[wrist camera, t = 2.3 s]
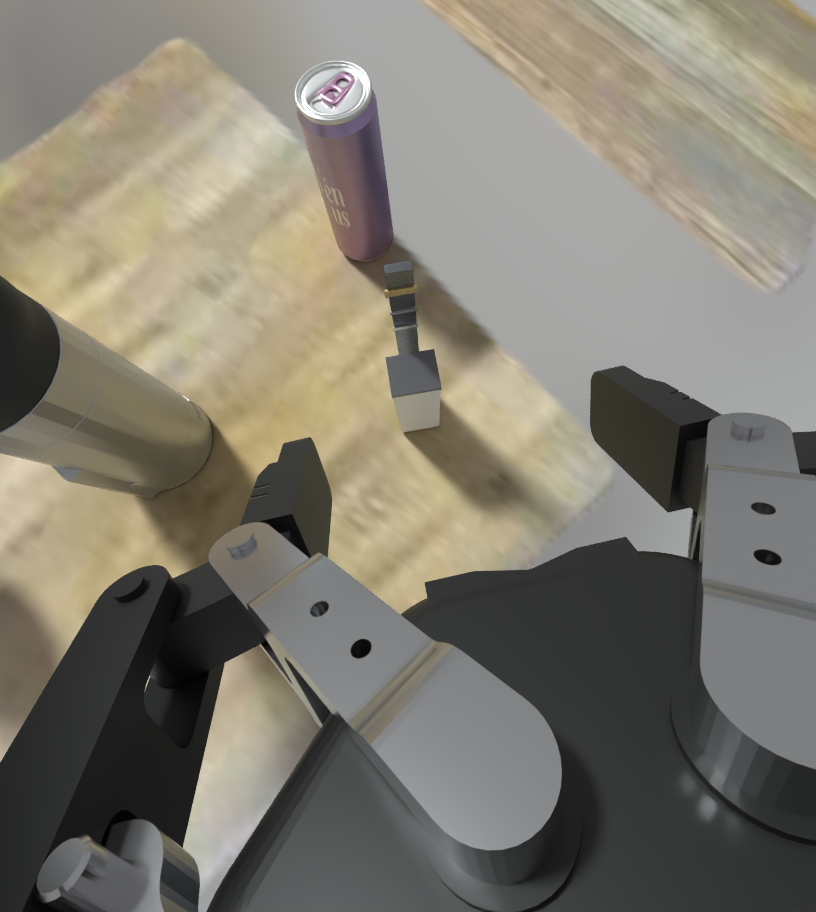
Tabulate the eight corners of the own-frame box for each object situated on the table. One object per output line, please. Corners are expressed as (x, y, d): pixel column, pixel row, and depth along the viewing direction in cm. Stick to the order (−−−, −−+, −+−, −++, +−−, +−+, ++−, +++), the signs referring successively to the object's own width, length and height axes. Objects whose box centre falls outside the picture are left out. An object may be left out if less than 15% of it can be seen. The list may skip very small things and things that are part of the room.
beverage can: (405, 233, 45) (391, 79, 31) (370, 274, 44) (338, 135, 30) (361, 207, 46) (326, 45, 32) (326, 246, 45) (274, 99, 31)
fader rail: (429, 390, 41) (426, 277, 24) (398, 396, 41) (374, 286, 24) (426, 371, 41) (420, 247, 25) (395, 376, 41) (369, 256, 25)
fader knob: (439, 426, 40) (441, 387, 31) (401, 433, 40) (391, 396, 31) (434, 395, 41) (433, 349, 32) (396, 402, 41) (385, 357, 32)
